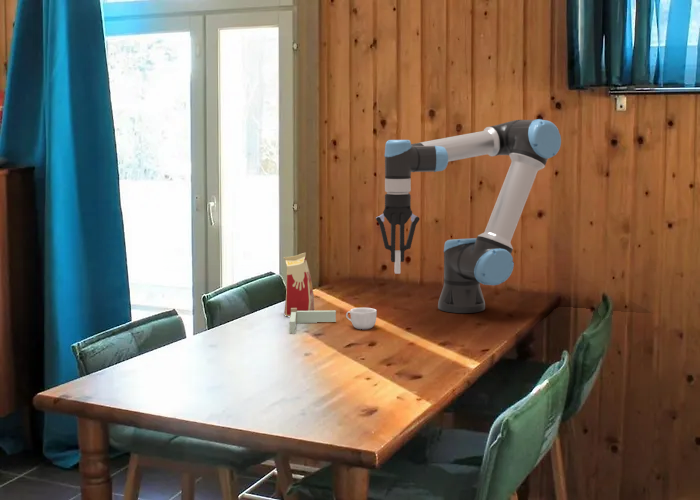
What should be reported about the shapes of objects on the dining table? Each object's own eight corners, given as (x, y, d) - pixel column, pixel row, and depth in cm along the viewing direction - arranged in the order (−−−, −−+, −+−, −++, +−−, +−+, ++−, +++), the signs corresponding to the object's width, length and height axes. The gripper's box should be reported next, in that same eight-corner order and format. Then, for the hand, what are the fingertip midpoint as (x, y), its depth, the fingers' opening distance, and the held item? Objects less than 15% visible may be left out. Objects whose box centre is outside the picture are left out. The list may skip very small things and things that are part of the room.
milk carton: (314, 311, 289) (313, 250, 286) (310, 317, 280) (309, 254, 277) (286, 311, 290) (285, 250, 287) (281, 317, 280) (280, 254, 278)
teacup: (381, 327, 267) (381, 309, 266) (368, 332, 260) (368, 314, 260) (353, 323, 272) (353, 305, 271) (339, 328, 266) (339, 310, 265)
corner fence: (335, 321, 274) (335, 307, 274) (336, 333, 259) (336, 318, 259) (291, 321, 274) (290, 307, 273) (289, 333, 259) (289, 318, 258)
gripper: (418, 191, 265) (418, 270, 268) (374, 192, 264) (374, 270, 268) (421, 193, 257) (420, 274, 261) (376, 194, 257) (375, 275, 260)
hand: (397, 272), depth 264 cm, fingers closed
